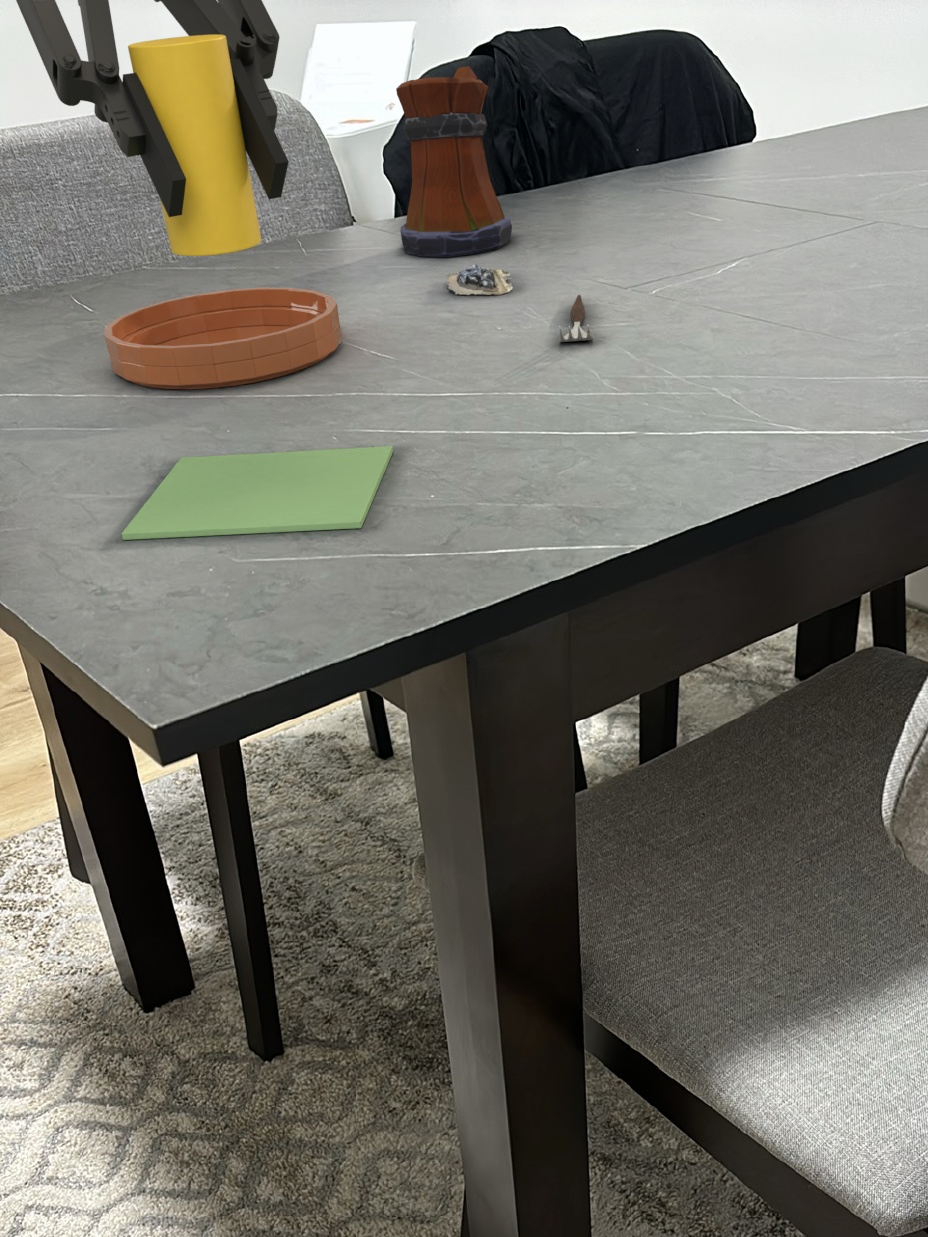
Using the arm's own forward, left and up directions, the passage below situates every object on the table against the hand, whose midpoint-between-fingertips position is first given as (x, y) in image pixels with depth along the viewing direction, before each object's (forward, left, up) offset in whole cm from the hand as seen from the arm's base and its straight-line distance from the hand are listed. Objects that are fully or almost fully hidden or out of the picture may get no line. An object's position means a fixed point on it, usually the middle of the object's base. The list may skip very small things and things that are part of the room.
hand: (228, 188), depth 73 cm
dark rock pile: (+8, +49, -16) cm, 53 cm away
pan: (-11, +30, -16) cm, 36 cm away
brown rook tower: (+4, +71, -16) cm, 73 cm away
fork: (+17, +33, -16) cm, 41 cm away
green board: (-1, -2, -16) cm, 16 cm away
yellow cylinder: (-2, +3, -3) cm, 5 cm away
